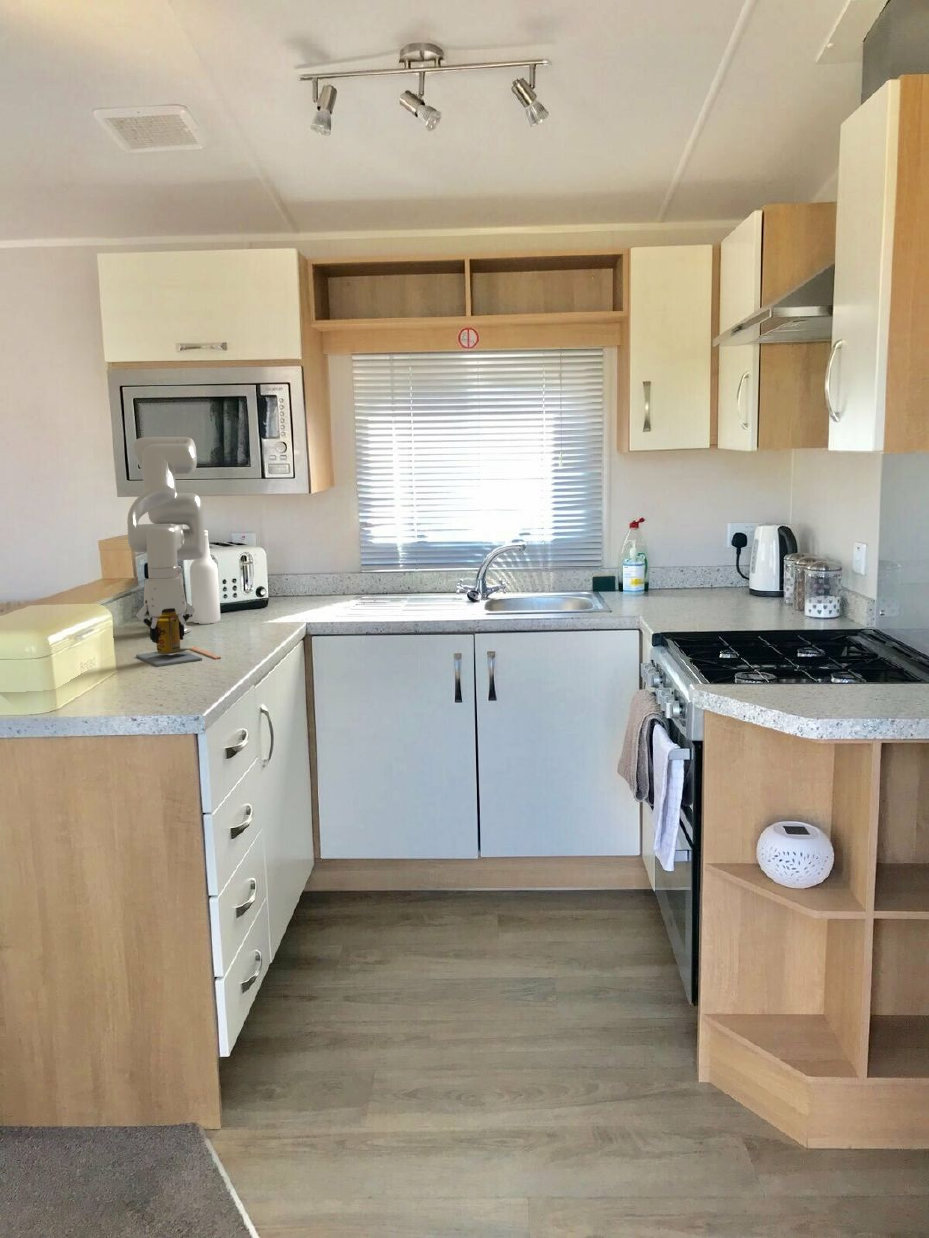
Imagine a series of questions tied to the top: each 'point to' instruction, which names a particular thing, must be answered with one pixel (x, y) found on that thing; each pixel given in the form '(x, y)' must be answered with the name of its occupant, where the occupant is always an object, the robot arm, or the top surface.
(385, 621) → the top surface
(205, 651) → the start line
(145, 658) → the mat
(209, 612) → the alcohol
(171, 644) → the condiment
